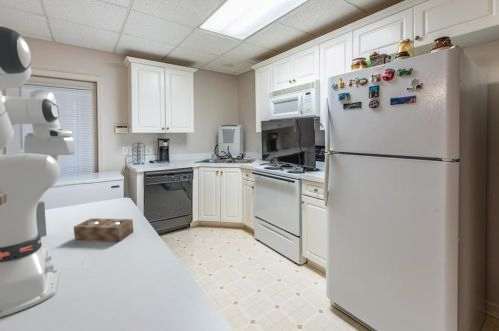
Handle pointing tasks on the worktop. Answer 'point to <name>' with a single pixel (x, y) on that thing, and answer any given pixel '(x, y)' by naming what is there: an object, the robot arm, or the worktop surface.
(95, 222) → the steel peg
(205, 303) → the worktop surface
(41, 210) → the skincare box
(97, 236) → the walnut block
